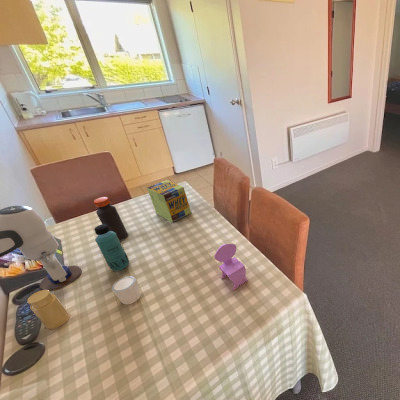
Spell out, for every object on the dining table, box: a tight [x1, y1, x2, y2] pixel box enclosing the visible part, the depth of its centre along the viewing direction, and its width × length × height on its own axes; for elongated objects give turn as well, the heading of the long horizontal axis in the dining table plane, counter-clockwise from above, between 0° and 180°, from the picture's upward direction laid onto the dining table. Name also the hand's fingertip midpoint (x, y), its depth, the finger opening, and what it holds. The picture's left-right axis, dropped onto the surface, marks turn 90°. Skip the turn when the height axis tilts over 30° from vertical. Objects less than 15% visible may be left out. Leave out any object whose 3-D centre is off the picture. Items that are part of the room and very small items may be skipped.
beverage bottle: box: [94, 223, 130, 272], centre depth 99 cm, size 6×7×20 cm
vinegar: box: [93, 196, 129, 242], centre depth 116 cm, size 7×7×20 cm
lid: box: [46, 265, 72, 283], centre depth 99 cm, size 6×6×3 cm
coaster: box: [39, 265, 83, 292], centre depth 100 cm, size 12×12×1 cm
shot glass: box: [111, 275, 142, 306], centre depth 90 cm, size 7×7×7 cm
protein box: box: [146, 179, 192, 223], centre depth 134 cm, size 10×15×16 cm
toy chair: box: [214, 243, 248, 291], centre depth 94 cm, size 8×9×15 cm
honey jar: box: [26, 289, 71, 330], centre depth 81 cm, size 6×6×12 cm
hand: (60, 275), depth 99 cm, fingers closed on lid, 6 cm apart
